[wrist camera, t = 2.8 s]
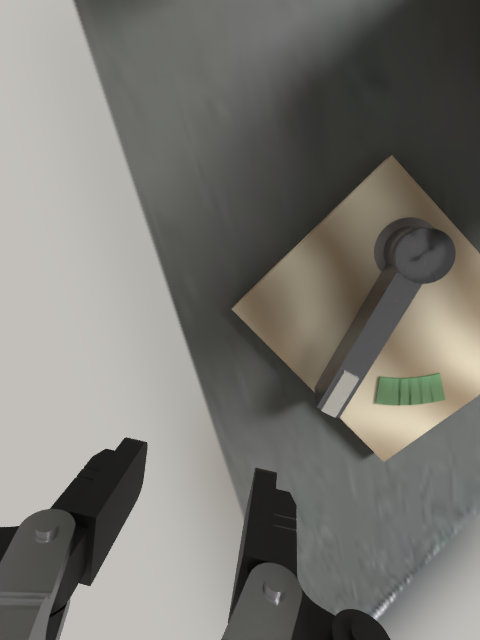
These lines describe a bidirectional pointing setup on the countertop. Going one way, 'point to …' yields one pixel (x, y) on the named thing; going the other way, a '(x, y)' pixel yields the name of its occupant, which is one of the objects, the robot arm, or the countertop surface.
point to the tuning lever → (383, 310)
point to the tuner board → (350, 293)
